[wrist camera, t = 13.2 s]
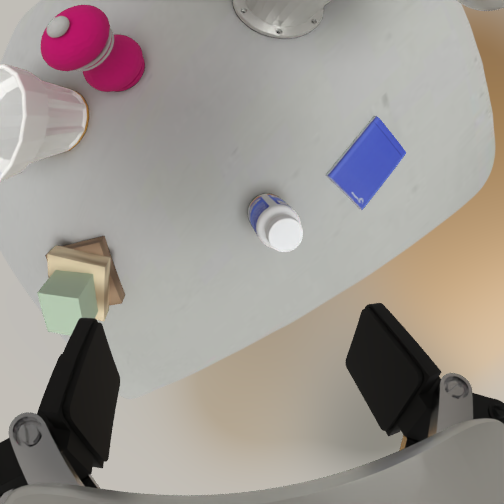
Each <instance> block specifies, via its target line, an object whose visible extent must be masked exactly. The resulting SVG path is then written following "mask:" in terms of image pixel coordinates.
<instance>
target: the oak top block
mask: <svg viewBox="0 0 504 504" xmlns="http://www.w3.org/2000/svg"><path fill="white" fill-rule="evenodd" d="M47 260H48V277H49V278H50V276H51V275H52V274H53V273H54V272H55V270H60V271H70V272H79V273H89V274H93V277H94V285H95V293H96V300H97V307H98V313H97V315H96V317H95V319H96V320H100V321H104V320H105V318H106V315H107V313H108V310H109V282H110V263H111V257H107V256H102V255H97V254H93V253H88V252H84V251H79V250H74V249H70V248H66V247H61V246H57V245H56V246H55V247H54V248H53V249H52V250H51V251H50V252H49V253H48V254H47Z"/></svg>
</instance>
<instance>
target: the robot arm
mask: <svg viewBox="0 0 504 504" xmlns="http://www.w3.org/2000/svg"><path fill="white" fill-rule="evenodd" d="M232 1H233V7H234V9H235V11H236V14H237V15H238V16H239V18H240V19H241V20H242V21H243V22H244V23H245V24H246V25H247V26H249V27H250V28H252V29H253V30H255V31H257V32H259V33H261V34H263V35H266V36H270V37H274V38H284V39H289V38H297V37H300V36H303V35H305V34H307V33H309V32H311V31H312V30H313V29H315V28H316V27H317V26H318V25H319V23H320V21H321V20H322V18H323V14H324V6H325V5H326V4H327V3H329V2H330V1H331V0H232ZM456 1H458V2H460V3H461V4H463V5H465V6H467V7H469V8H472V9H475V10H481V11H490V10H491V11H492V10H497V9H501V8H504V0H456ZM242 12H244V13H242ZM312 22H313V23H312ZM276 32H279V34H278V33H276ZM346 367H347V369H348V371H349V372H350V374H351V376H352V378H353V379H354V381H355V383H356V385H357V386H358V388H359V390H360V392H361V394H362V395H363V397H364V399H365V401H366V402H367V404H368V406H369V408H370V410H371V412H372V413H373V415H374V417H375V419H376V421H377V422H378V424H379V426H380V428H381V429H382V430H384V431H386V433H387V435H388V436H390V435H393V434H395V433H398V432H400V430H401V431H402V433H403V438H402V442H401V446H400V450H399V451H398V452H396V453H393V454H391V455H388V456H386V457H383V458H381V459H378V460H376V461H373V462H370V463H368V464H365V465H362V466H359V467H356V468H353V469H350V470H347V471H344V472H341V473H337V474H334V475H331V476H327V477H323V478H319V479H315V480H311V481H307V482H303V483H298V484H293V485H289V486H283V487H278V488H272V489H266V490H259V491H251V492H242V493H232V494H219V495H191V496H182V495H180V496H178V495H155V494H139V493H128V492H120V491H113V490H105V489H100V487H99V486H98V484H97V483H96V482H95V480H94V479H93V478H92V476H91V472H92V467H98V468H103V463H104V461H107V460H108V457H109V448H110V440H111V434H112V426H113V420H114V414H115V408H116V403H117V397H118V392H119V386H120V376H119V373H118V371H117V368H116V365H115V362H114V360H113V357H112V354H111V351H110V348H109V345H108V342H107V339H106V336H105V332H104V329H103V326H102V324H101V323H98V322H97V320H96V319H95V318H80V319H79V320H78V322H77V324H76V326H75V328H74V330H73V332H72V334H71V337H70V339H69V341H68V343H67V345H66V348H65V350H64V352H63V354H61V356H60V357H59V359H58V361H57V364H56V366H55V368H54V370H53V373H52V376H51V378H50V380H49V383H48V385H47V388H46V390H45V393H44V396H43V399H42V401H41V404H40V407H39V410H38V413H37V414H34V413H23V414H20V415H18V416H17V417H15V419H14V420H13V421H12V423H11V425H10V427H9V438H8V439H6V440H5V441H3V442H1V443H0V504H504V403H503V402H501V401H499V400H496V399H492V398H488V397H484V396H481V395H478V394H474V393H472V388H471V385H470V383H469V382H468V381H467V380H466V378H464V377H463V376H461V375H459V374H455V373H449V374H446V375H444V376H443V377H442V379H440V377H439V375H440V373H441V371H440V370H439V369H438V367H437V366H436V365H435V364H434V362H433V361H432V360H431V359H430V357H429V356H428V355H427V354H426V353H425V352H424V351H423V349H422V348H421V347H420V346H419V344H418V343H417V342H416V341H415V340H414V339H413V337H412V336H411V335H410V334H409V333H408V332H407V331H406V330H405V328H404V327H403V326H402V325H401V324H400V323H399V322H398V321H397V319H396V318H395V317H394V316H393V315H392V314H391V313H390V311H389V310H388V309H386V307H385V306H384V305H383V304H382V303H376V304H369V305H367V306H366V307H365V309H363V310H362V312H361V315H360V318H359V322H358V325H357V328H356V331H355V334H354V337H353V341H352V343H351V346H350V349H349V352H348V355H347V358H346Z"/></svg>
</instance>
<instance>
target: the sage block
mask: <svg viewBox="0 0 504 504" xmlns="http://www.w3.org/2000/svg"><path fill="white" fill-rule="evenodd" d="M38 297H39V301H40V305H41V309H42V313H43V316H44V320H45V323H46V327H47V330H48V332H54V333H59V334H64V335H70V336H71V334H72V332H73V330H74V328H75V326H76V324H77V322H78V320H79V319H80V318H95V317H96V315H97V313H98V307H97V300H96V293H95V285H94V277H93V274H89V273H79V272H70V271H60V270H55V272H54V273H53V274H52V275H51V276H50V278H49V279H48V280H47V281H46V283H45V284H44V285H43V286H42V288H41V289H40V290H39V291H38Z"/></svg>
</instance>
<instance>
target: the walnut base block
mask: <svg viewBox="0 0 504 504" xmlns="http://www.w3.org/2000/svg"><path fill="white" fill-rule="evenodd" d="M62 247H66V248H70V249H74V250H79V251H84V252H88V253H93V254H97V255H102V256H107V257H111V254H110V251H109V248H108V245H107V242H106V239H105V236H102V237H98V238H94V239H90V240H86V241H81V242H77V243H73V244H70V245H66V246H62ZM51 250H52V249H51ZM51 250H50V251H51ZM50 251H49V252H50ZM49 252H48V253H49ZM48 253H47V254H48ZM47 254H46V255H45V256H46V259H47ZM47 261H48V260H47ZM124 296H125V293H124V291H123V288H122V285H121V283H120V280H119V277H118V274H117V272H116V269H115V266H114V263H113V260H112V257H111V263H110V282H109V305H115V304H121V303H122V302H123V299H124Z"/></svg>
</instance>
